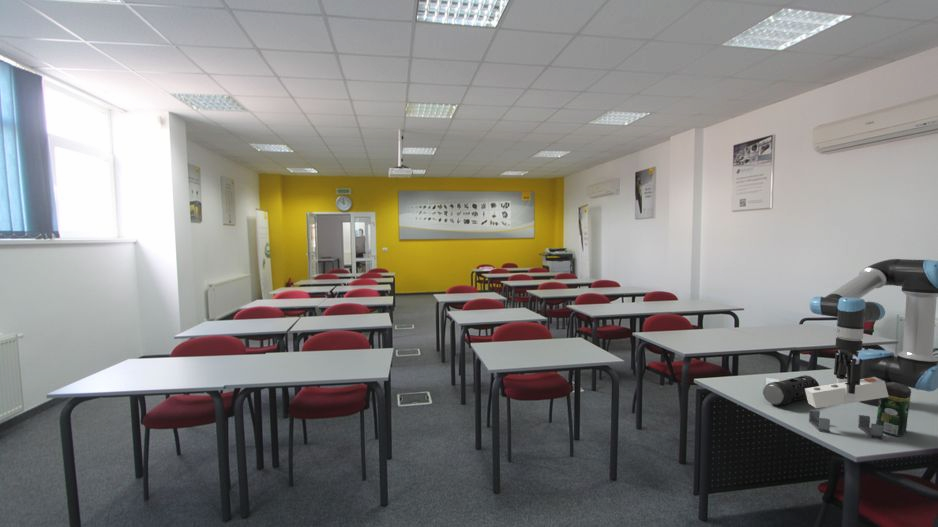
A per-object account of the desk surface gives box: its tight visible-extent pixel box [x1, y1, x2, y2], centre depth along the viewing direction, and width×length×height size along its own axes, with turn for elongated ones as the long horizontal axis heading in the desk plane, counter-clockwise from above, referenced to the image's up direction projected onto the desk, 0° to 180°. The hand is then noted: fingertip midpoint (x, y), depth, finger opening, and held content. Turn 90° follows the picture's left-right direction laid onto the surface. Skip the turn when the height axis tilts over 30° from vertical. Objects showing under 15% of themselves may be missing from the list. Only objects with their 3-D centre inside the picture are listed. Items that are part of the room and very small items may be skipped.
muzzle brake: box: [762, 375, 820, 406], centre depth 189 cm, size 10×28×10 cm, turn 115°
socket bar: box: [805, 377, 889, 409], centre depth 160 cm, size 24×5×7 cm, turn 78°
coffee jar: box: [875, 382, 912, 437], centre depth 159 cm, size 10×8×19 cm
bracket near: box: [857, 414, 884, 440], centre depth 159 cm, size 3×9×5 cm, turn 162°
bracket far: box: [808, 409, 831, 434], centre depth 164 cm, size 3×9×5 cm, turn 162°
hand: (845, 398), depth 160 cm, fingers closed on socket bar, 5 cm apart
